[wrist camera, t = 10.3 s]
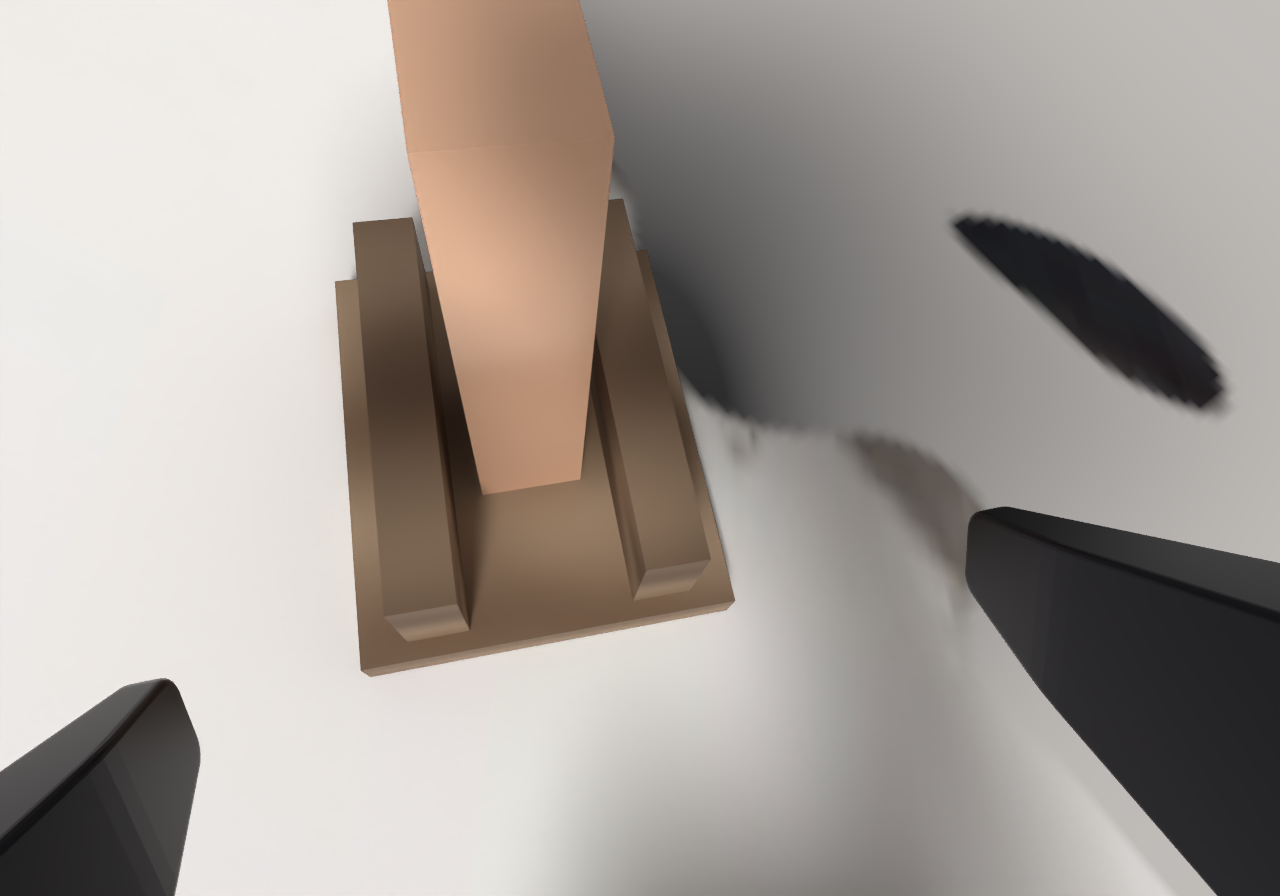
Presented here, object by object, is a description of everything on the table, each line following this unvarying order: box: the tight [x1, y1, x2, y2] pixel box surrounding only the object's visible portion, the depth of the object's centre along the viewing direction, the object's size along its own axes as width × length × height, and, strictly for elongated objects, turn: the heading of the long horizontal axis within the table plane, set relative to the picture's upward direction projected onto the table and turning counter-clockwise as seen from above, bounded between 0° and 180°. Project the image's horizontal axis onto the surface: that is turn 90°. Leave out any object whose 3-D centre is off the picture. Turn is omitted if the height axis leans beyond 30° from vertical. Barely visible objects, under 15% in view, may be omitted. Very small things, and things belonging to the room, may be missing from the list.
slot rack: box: [335, 199, 735, 677], centre depth 22 cm, size 12×10×4 cm
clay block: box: [387, 0, 615, 495], centre depth 17 cm, size 4×3×13 cm
